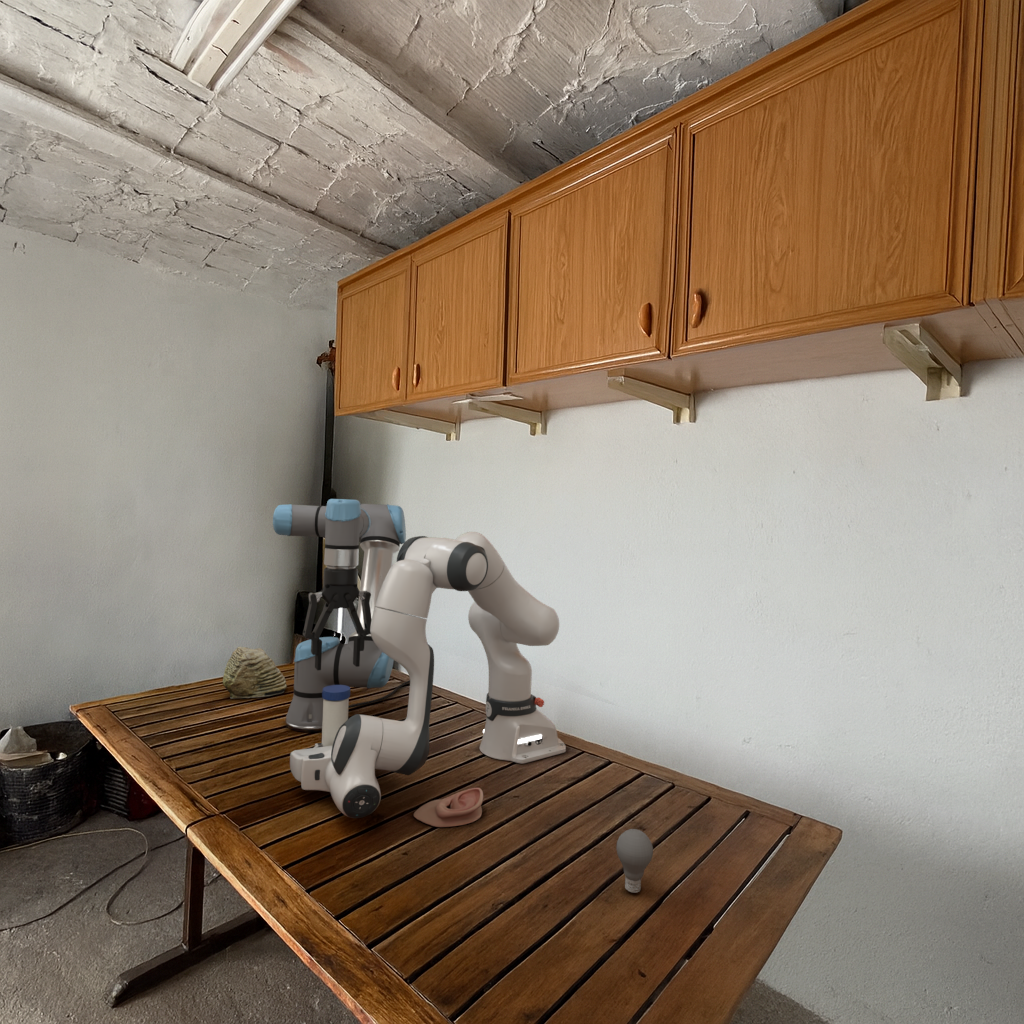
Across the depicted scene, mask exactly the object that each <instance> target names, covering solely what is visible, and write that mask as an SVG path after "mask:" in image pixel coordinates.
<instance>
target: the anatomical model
mask: <svg viewBox="0 0 1024 1024" xmlns="http://www.w3.org/2000/svg"><path fill="white" fill-rule="evenodd" d="M483 802H484V792H483V790H482V788H480V787H471V788H467V789H464V790H461V791H458V792H456V793H454V794H451V795H449V796H446V797H444V798H441V799H440V798H439V799H434V800H430V801H429V802H427V803H424V804H423V805H421V806H419V808H418V809H417V810H415V811H414V813H413V817H414V818H415V819H416V820H417V821H419V822H422V823H424V824H426V825H428V826H432V827H434V828H435V827H436V828H449V827H450V828H451V827H457V826H464V825H467V824H471V823H474V822H475V821H477V820H479V819H480V818H481V817H482V814H483V809H482V805H483Z"/></svg>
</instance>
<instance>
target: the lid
mask: <svg viewBox="0 0 1024 1024" xmlns="http://www.w3.org/2000/svg"><path fill="white" fill-rule="evenodd" d="M350 697H351V687H349V686H346V685H330V686H326V687H324V688H323V691H322V698H323V699H325V700H329V701H340V700H345V699H348V698H349V699H350Z"/></svg>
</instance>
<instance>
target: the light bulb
mask: <svg viewBox="0 0 1024 1024" xmlns="http://www.w3.org/2000/svg"><path fill="white" fill-rule="evenodd" d="M615 849H616V854H617V857H618V859H619V861H620V863H621V865H622V867H623V873H624V874H623V875H624V876H625V878H624V888H625V890H627V891H628V892H630V893H634V894H635V893H639V892H640V891H641V889H642V887H641V886H642V879H643V877H644V875H645V871H646V868H647V867H648V866H649V864H650V863H651V861H652V859H653V855H654V847H653V843H652V841H651V838H649V836H648V835H647V834H646V833H645V832H643V831H642V830H641V829H636V828H629V829H627V830H625V831H623V832H622V833H621V834H620V835H619V837H618V839H617V841H616V847H615Z"/></svg>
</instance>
